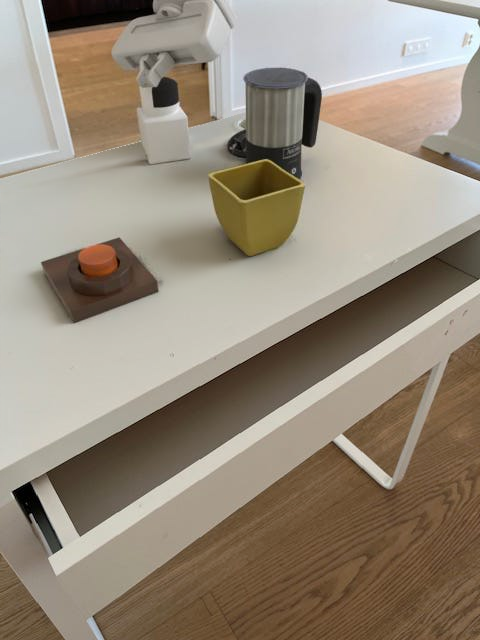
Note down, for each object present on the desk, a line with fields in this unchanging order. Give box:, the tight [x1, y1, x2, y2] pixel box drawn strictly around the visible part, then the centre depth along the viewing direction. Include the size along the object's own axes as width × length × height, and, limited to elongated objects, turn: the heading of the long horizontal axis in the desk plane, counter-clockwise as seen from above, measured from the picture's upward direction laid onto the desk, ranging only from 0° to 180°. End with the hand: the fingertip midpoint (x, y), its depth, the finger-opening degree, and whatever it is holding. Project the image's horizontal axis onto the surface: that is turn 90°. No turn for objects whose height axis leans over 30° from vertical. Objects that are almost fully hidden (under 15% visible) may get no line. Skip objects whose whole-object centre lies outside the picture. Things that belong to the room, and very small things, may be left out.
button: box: [78, 243, 118, 277], centre depth 57 cm, size 4×4×2 cm
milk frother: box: [226, 67, 323, 180], centre depth 79 cm, size 14×16×15 cm
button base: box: [40, 237, 160, 324], centre depth 59 cm, size 11×10×4 cm
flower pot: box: [207, 159, 306, 257], centre depth 63 cm, size 9×9×9 cm
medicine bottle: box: [136, 76, 192, 165], centre depth 84 cm, size 7×7×12 cm
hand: (145, 84), depth 75 cm, fingers closed
